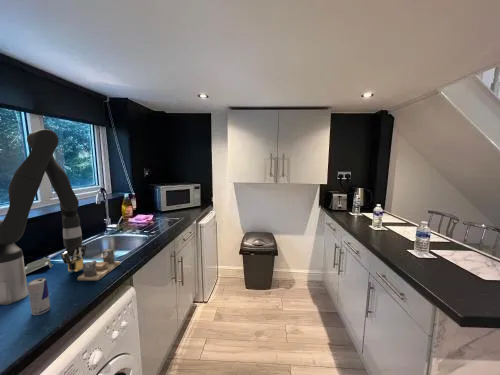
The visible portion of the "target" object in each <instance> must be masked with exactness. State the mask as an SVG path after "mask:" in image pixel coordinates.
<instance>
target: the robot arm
mask: <svg viewBox="0 0 500 375" xmlns="http://www.w3.org/2000/svg"><path fill="white" fill-rule="evenodd" d="M59 141H60V140H59V136H58V134H57V133H56V132H55V131H53V130H52V129H49V128H48V129H47V128H46V129H45V128H43V129H38V130H35V131H32V132H30V133H29V134H28V135H27V137H26V142H27V144H28V147H30V149H31V150H30V152H29V154H28V156H27V157H26V159H25V160H24V161H23V162H22V163H21V164H20V165H19V166H18V168H17V169H16V170H15V172H14V174H13V175H12V178H11V180H10V182H9V185H8V199H9V200H8V201H9V204H8V205H9V206H8V210H7V212H6V215H5V217H4V218H3V219H0V306H2V305H5V306H7V305H11V304H13V303H16V302H18V301H21V300H22V299H25V298H26V297H28V296H29V292H28V282H27V276H26V275H27V274H26V273H25V267H26V266H25V261H24V253H23V250H22V248H20V247H19V246H18V245H17V244H16V243H17V242H18V241H19V240H20V239H21V238H22V237H23V235H24V233H25V230H26V228H27V225H28V224H27V223H28V219H29V215H30V212H31V208H32V207H33V204H34V201H35V198H36V196H37V193H38V191H39V189H40V188H41V187H40V186H41V184H42V182H43V177H44V175H45V174H46V175H47V178H48V180H49V182H50V184H51V187H52V189H53V191H54V192H55V194H56V195H57V198H58V200H59V201H58V202H59V208H60V214H61V219H62V238H63V240H62V241H63V246H64V247H65V251H64V253H60V257H61V259H62V262H63V264H66V265H68V264H69V270H70V271H69V272H74V270H75V266H74V259H77V260H78V259H83V257H85V256H86V251H87V250H86V249H87V245H86V244H83V235H82V234H83V232H82V228H81V219H80V216H79V214H78V208H79V206H80V203H79V202H80V201H79V200H78V197H77V195H76V193H75V192H74V190H73V187H72V184H71V182H70V180H69V177H68V174H66V171H65V170H64V168H62V167H61V165H60V164H59V163H58V162H57V160H56V159H55V157H54V155H53V154H54V153H55V151H56V149H57V147H58V146H59ZM70 260H71V261H70Z"/></svg>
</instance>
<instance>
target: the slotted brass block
mask: <svg viewBox="0 0 500 375" xmlns="http://www.w3.org/2000/svg"><path fill="white" fill-rule="evenodd" d="M70 261H71V260H70ZM83 265H84V259H83V258H82V259H78V260H77V259H76V258H75V259H74V266H75V270H73V272H79V271H81V270H83ZM67 271H68V272H71V271H70V270H69V264H67Z"/></svg>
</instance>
